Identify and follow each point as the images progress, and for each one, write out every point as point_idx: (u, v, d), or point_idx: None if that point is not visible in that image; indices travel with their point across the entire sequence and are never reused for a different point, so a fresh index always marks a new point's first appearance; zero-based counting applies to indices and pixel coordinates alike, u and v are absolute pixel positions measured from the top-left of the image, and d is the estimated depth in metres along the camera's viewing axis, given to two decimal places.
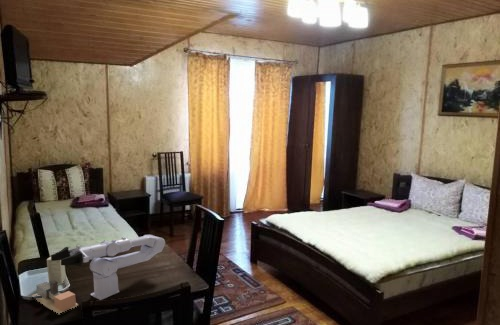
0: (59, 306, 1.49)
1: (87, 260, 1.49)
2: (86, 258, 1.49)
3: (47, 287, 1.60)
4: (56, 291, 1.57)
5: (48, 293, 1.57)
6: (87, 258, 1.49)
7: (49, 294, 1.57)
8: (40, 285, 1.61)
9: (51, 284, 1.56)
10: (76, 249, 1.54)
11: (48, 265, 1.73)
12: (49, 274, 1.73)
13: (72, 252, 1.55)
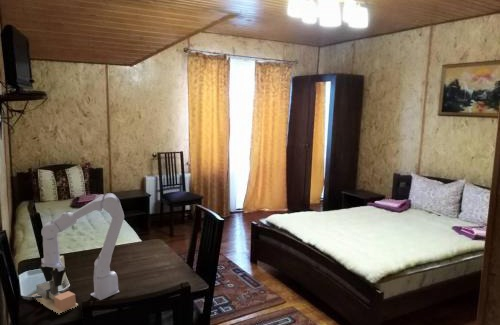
0: (59, 306, 1.49)
1: (62, 267, 1.51)
2: (60, 269, 1.51)
3: (47, 287, 1.60)
4: (56, 291, 1.57)
5: (48, 293, 1.57)
6: (60, 267, 1.51)
7: (49, 294, 1.57)
8: (40, 285, 1.61)
9: (51, 284, 1.56)
10: None
11: None
12: None
13: None
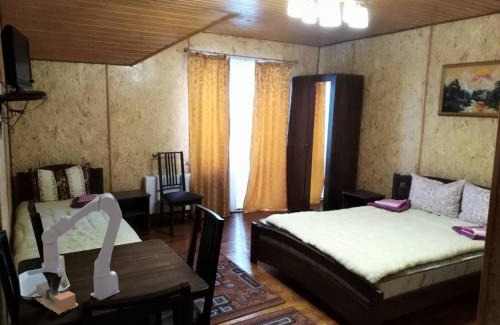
0: (59, 306, 1.49)
1: (62, 272, 1.52)
2: (60, 274, 1.51)
3: (47, 287, 1.60)
4: (56, 291, 1.57)
5: (48, 293, 1.57)
6: (60, 273, 1.51)
7: (49, 294, 1.57)
8: (40, 285, 1.61)
9: (51, 284, 1.56)
10: None
11: None
12: None
13: None
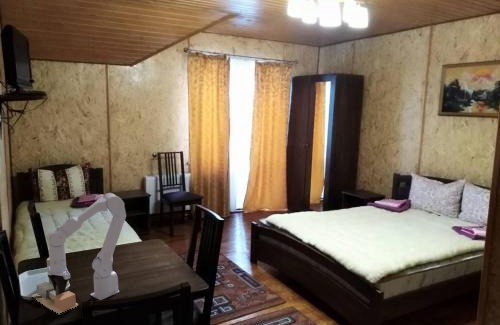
0: (59, 306, 1.49)
1: (68, 275, 1.49)
2: (66, 277, 1.48)
3: (47, 287, 1.60)
4: None
5: None
6: (66, 276, 1.48)
7: None
8: (40, 285, 1.61)
9: (56, 287, 1.53)
10: None
11: (48, 265, 1.73)
12: None
13: None
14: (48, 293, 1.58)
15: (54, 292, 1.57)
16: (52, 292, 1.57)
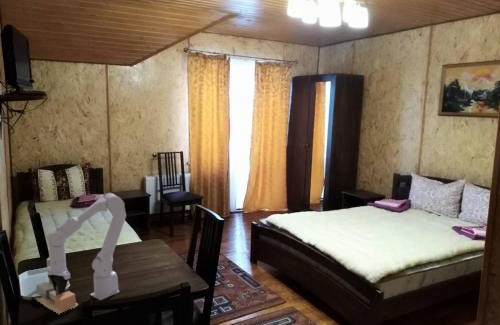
0: (59, 306, 1.49)
1: (68, 275, 1.49)
2: (66, 277, 1.48)
3: (47, 287, 1.60)
4: None
5: None
6: (66, 276, 1.48)
7: None
8: (40, 285, 1.61)
9: (56, 287, 1.53)
10: None
11: (48, 265, 1.73)
12: None
13: None
14: (48, 293, 1.58)
15: (54, 292, 1.57)
16: (52, 292, 1.57)
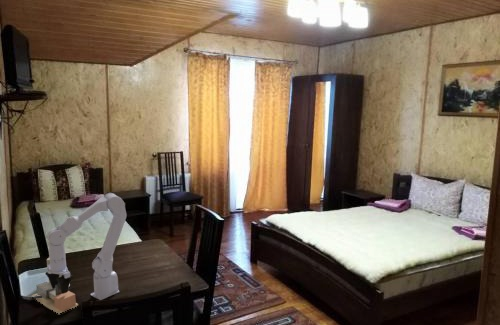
0: (59, 306, 1.49)
1: (68, 274, 1.49)
2: (66, 275, 1.48)
3: (47, 287, 1.60)
4: None
5: None
6: (66, 274, 1.48)
7: None
8: (40, 285, 1.61)
9: (56, 287, 1.53)
10: None
11: None
12: None
13: None
14: (48, 293, 1.58)
15: (54, 292, 1.57)
16: (52, 292, 1.57)
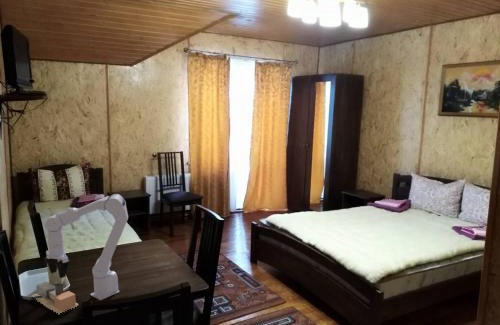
0: (59, 306, 1.49)
1: (66, 258, 1.55)
2: (64, 260, 1.54)
3: (47, 287, 1.60)
4: None
5: None
6: (64, 259, 1.54)
7: None
8: (40, 285, 1.61)
9: (56, 287, 1.53)
10: None
11: None
12: (49, 274, 1.73)
13: None
14: (48, 293, 1.58)
15: (54, 292, 1.57)
16: (52, 292, 1.57)
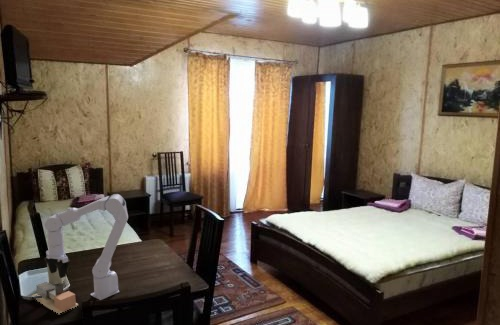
0: (59, 306, 1.49)
1: (66, 258, 1.55)
2: (64, 260, 1.54)
3: (47, 287, 1.60)
4: None
5: None
6: (64, 259, 1.54)
7: None
8: (40, 285, 1.61)
9: (56, 287, 1.53)
10: None
11: None
12: (49, 274, 1.73)
13: None
14: (48, 293, 1.58)
15: (54, 292, 1.57)
16: (52, 292, 1.57)
